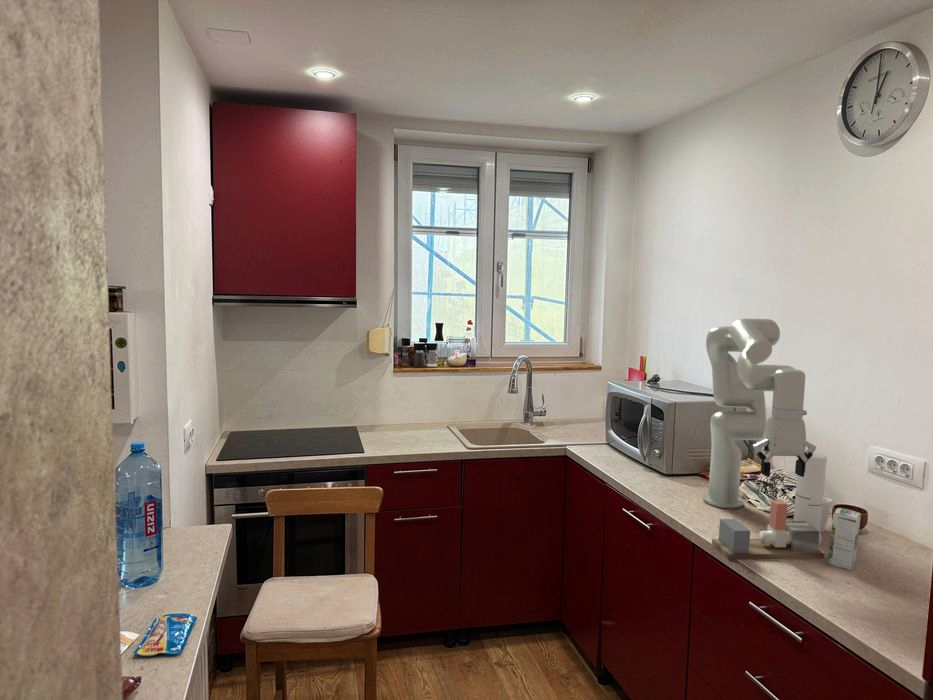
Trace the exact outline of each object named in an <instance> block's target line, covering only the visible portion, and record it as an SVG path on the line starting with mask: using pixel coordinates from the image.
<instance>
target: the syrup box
mask: <svg viewBox="0 0 933 700" xmlns="http://www.w3.org/2000/svg"><path fill="white" fill-rule="evenodd" d="M861 516H862V513H860V512H858V511H855V510H851V509H849V508H842V507H837V508H836V510H835V511H834V512H833V513H832V523H831V529H830V530H831V531H830V540H829V547H828V557H827V564H828V565H830V566H834V567H838V568H841V569H846V570H849V571H850V570H851V571H852V570H853V568H854V567H855V564H856V559H857V552H858V543H859V542H858V541H859V533H860V525H861V518H862V517H861Z"/></svg>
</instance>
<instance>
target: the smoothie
mask: <svg viewBox="0 0 933 700" xmlns="http://www.w3.org/2000/svg"><path fill="white" fill-rule="evenodd" d="M832 505H833V499H831V498H829V497H827V496H826V497H825V496H823V505H822V515H821V526H820V533H823V532H826V527H827V523H828V519H829V516H830V515H829V514H830V513H831V512H830V511H831V507H832Z"/></svg>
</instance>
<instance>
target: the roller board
mask: <svg viewBox="0 0 933 700" xmlns="http://www.w3.org/2000/svg"><path fill="white" fill-rule="evenodd" d="M785 530H786V531H790V532H791V533H792V541H791V544H786V547H774V546H773V545H772V544H762V543H761V542H760V539H759V538H750V543H749V553H732V552H731V551H730V550H729V549H728V548H727V547H726V546H724V545H723V544H722V543H721V542H720V541H719V538H712V539H711V545H712V546H714V548H716V550H718V551H719V553H721V554H722V555H723V556H724V557H725V558H726V559H727V560H728V561H729V560H730V561H731V560H740V561H741V560H824V559H825V553H824V552H823V551H821V550H820V549H819V544H818V543H819V532H820V531H818V530H817V529H815V528H814V527H812V526H811V525H809V524H808V523H806V522H805V521H793V520H792V521H789V520H786V529H785ZM820 533H821V532H820Z"/></svg>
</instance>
